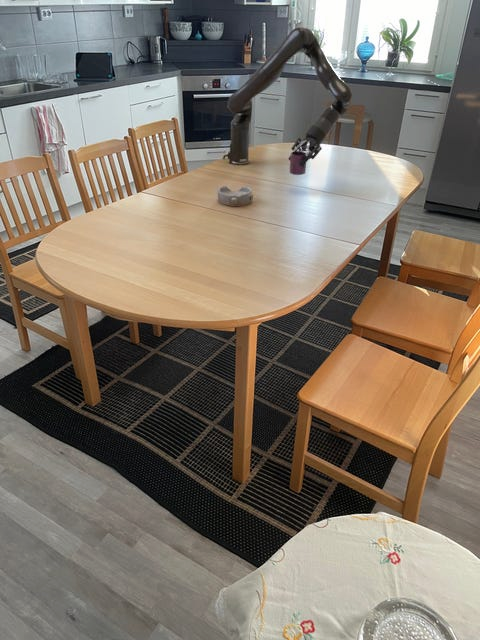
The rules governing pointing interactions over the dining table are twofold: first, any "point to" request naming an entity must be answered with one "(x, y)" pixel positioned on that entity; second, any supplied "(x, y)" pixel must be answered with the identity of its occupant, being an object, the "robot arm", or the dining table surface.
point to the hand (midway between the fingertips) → (295, 162)
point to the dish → (235, 196)
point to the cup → (297, 163)
